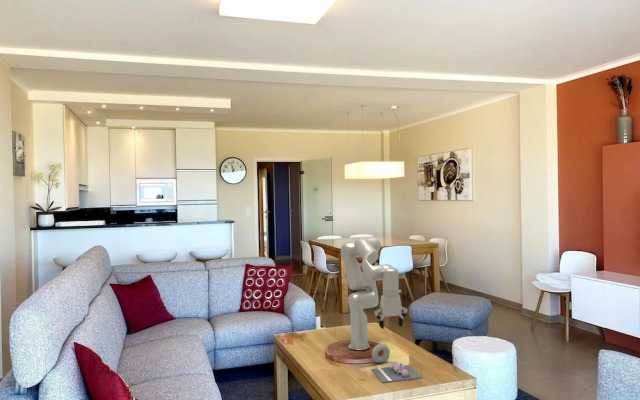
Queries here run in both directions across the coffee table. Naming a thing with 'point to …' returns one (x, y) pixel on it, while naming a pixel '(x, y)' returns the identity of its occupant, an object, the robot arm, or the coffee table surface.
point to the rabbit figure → (400, 369)
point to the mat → (394, 374)
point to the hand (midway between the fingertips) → (391, 327)
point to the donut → (375, 352)
